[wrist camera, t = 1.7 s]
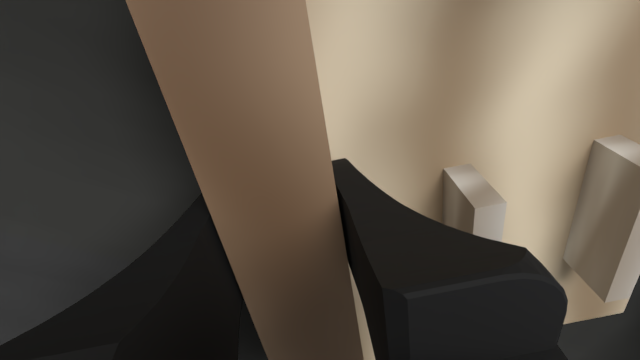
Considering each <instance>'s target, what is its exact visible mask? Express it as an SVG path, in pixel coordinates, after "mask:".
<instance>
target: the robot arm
mask: <svg viewBox="0 0 640 360" xmlns="http://www.w3.org/2000/svg"><path fill="white" fill-rule="evenodd" d="M332 167H333V173H334V179H335V185H336V191H337V198H338V204H339V210H340V216H341V222H342V228H343V235H344V241H345V247H346V253H347V259H348V263H349V266H350V269H351V272H352V275H353V278H354V281H355V284H356V287H357V290H358V292H359V295H360V299H361V302H362V305H363V309H364V313H365V317H366V321H367V326H368V330H369V334H370V338H371V343H372V347H373V351H374V356H375V360H568V359H567V358H566V356H565V355H564V353H563V352H562V351H561V349H560V348H559V347H558V345H557V343H558V339H559V336H560V333H561V329H562V326H563V323H564V320H565V316H566V313H567V305H568V299H567V296H566V293H565V290H564V288H563V287H562V286H561V285H560V284H559V283H558V281H557V280H556V279H555V278H554V277H553V276H552V274H551V273H550V272H549V271H548V270H547V269H546V267H545V266H544V265H543V264H542V263H541V262H540V261H539V260H538V259H537V258H536V257H535V256H534V255H533V254H532V253H531V252H530V251H529V250H528V249H527V248H525V247H521V246H517V245H513V244H508V243H504V242H500V241H496V240H491V239H487V238H483V237H480V236H477V235H474V234H470V233H467V232H464V231H461V230H458V229H455V228H453V227H450V226H447V225H445V224H442V223H440V222H438V221H435V220H433V219H430V218H428V217H426V216H424V215H422V214H420V213H418V212H416V211H414V210H412V209H410V208H408V207H407V206H405V205H403V204H401V203H400V202H398V201H396V200H395V199H393V198H392V197H391V196H389V195H388V194H386V193H385V192H384V191H382V190H381V189H380V188H378V187H377V186H376V185H375V184H373V183H372V182H371V181H370V180H368V179H367V178H366V177H365V176H364V175H363V174H362V173H361V172H360V171H358V170H357V169H356V168H355V167H354V166H353V165H352V164H351V162H350V161H349V160H347V159H346V158H343V159H337V160H332ZM242 300H243V295H242V292H241V290H240V287H239V285H238V282H237V280H236V277H235V275H234V272H233V270H232V267H231V265H230V262H229V260H228V257H227V255H226V252H225V250H224V247H223V245H222V242H221V240H220V237H219V235H218V232H217V230H216V227H215V224H214V222H213V219H212V217H211V214H210V212H209V209H208V207H207V204H206V202H205V199H204V197H203V194H201V195H200V196H199V197H198V198H197V199H196V201H195V202H194V203H193V204H192V205H191V206H190V207H189V208H188V210H187V211H186V212H185V213H184V214H183V215H182V216H181V217H180V218H179V219H178V221H177V222H176V223H175V224H174V225H173V226H172V227H171V228H170V229H169V230H168V231H167V232H166V233H165V234H164V235H163V236H162V237H161V238H160V239H159V240H158V241H157V242H156V243H155V244H153V245H152V246H151V247H150V248H149V249H148V250H147V251H146V252H145V253H143V254H142V255H141V256H140V257H139V258H137V259H136V260H135V261H134V262H133V263H131V264H130V265H129V266H128V267H127V268H125V269H124V270H123V271H121V272H120V273H119V274H117V275H116V276H114V277H113V278H112V279H110V280H109V281H107V282H106V283H105V284H103V285H102V286H101V287H99V288H98V289H96V290H95V291H94V292H92V293H91V294H89V295H88V296H86V297H84V298H83V299H81V300H80V301H78V302H77V303H75V304H74V305H72V306H70V307H69V308H67V309H65V310H64V311H62V312H60V313H59V314H57V315H56V316H54V317H52V318H50V319H49V320H47V321H45V322H43V323H42V324H40V325H38V326H36V327H34V328H32V329H31V330H29V331H27V332H25V333H23V334H21V335H19V336H18V337H16V338H14V339H12V340H10V341H8V342H6V343H4V344H3V345H1V346H0V360H238V338H239V323H240V315H241V307H242Z"/></svg>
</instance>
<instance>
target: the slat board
mask: <svg viewBox="0 0 640 360" xmlns="http://www.w3.org/2000/svg"><path fill="white" fill-rule="evenodd" d="M306 7H307V13H308V19H309V25H310V31H311V37H312V44H313V50H314V56H315V62H316V68H317V74H318V81H319V87H320V93H321V99H322V105H323V111H324V118H325V124H326V130H327V136H328V142H329V148H330V154H331V161H332V160H337V159H343V158H346V159H347V160H349V161H350V162H351V164H352V165H353V166H354V167H355V168H356V169H357V170H358V171H360V172H361V173H362V174H363V175H364V176H365V177H366V178H367V179H368V180H370V181H371V182H372V183H373V184H375V185H376V186H377V187H378V188H380V189H381V190H382V191H384V192H385V193H386V194H388V195H389V196H391V197H392V198H393V199H395V200H396V201H398V202H400V203H401V204H403V205H405V206H407V207H408V208H410V209H412V210H414V211H416V212H418V213H420V214H422V215H424V216H426V217H428V218H430V219H433V220H435V221H438V222H440V223H442V224H445V225H447V226H450V227H453V228H455V229H458V230H461V231H464V232H467V233H470V234H474V235H477V236H480V237H483V238H487V239H491V240H496V241H500V242H504V243H508V244H513V245H517V246H521V247H525V248H527V249H528V250H529V251H530V252H531V253H532V254H533V255H534V256H535V257H536V258H537V259H538V260H539V261H540V262H541V263H542V264H543V265H544V266H545V267H546V269H547V270H548V271H549V272H550V273H551V274H552V276H553V277H554V278H555V279H556V280H557V281H558V283H559V284H560V285H561V286H562V287H563V288H564V290H565V293H566V296H567V299H568V305H567V313H566V316H565V320H564V323H563V324H567V323H572V322H577V321H582V320H587V319H592V318H598V317H603V316H608V315H613V314H618V313H623V312H624V310H625V307H626V305H627V303H628V300H629V298H630V296H631V293H632V291H633V289H634V286H635V284H636V282H637V279H638V277H639V275H640V0H306ZM348 265H349V263H348ZM349 272H350V278H351V284H352V290H353V296H354V302H355V309H356V315H357V321H358V327H359V333H360V339H361V346H362V352H363V358H364V360H375V356H374V351H373V347H372V343H371V338H370V334H369V330H368V326H367V321H366V317H365V313H364V309H363V305H362V302H361V299H360V295H359V292H358V290H357V287H356V284H355V281H354V278H353V275H352V272H351V269H350V266H349Z"/></svg>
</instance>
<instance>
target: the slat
mask: <svg viewBox="0 0 640 360" xmlns="http://www.w3.org/2000/svg"><path fill="white" fill-rule="evenodd" d="M126 3H127V5H128V8H129V10H130V13H131V15H132V18H133V20H134V23H135V25H136V28H137V30H138V33H139V35H140V38H141V41H142V43H143V46H144V48H145V51H146V53H147V56H148V58H149V61H150V63H151V66H152V68H153V71H154V73H155V76H156V78H157V81H158V83H159V86H160V88H161V91H162V93H163V96H164V98H165V101H166V104H167V106H168V109H169V111H170V114H171V116H172V119H173V121H174V124H175V126H176V129H177V131H178V134H179V136H180V139H181V141H182V144H183V146H184V149H185V151H186V154H187V156H188V159H189V161H190V164H191V167H192V169H193V172H194V174H195V177H196V179H197V182H198V184H199V187H200V189H201V192H202V194H203V197H204V199H205V202H206V204H207V207H208V209H209V212H210V214H211V217H212V219H213V222H214V224H215V227H216V230H217V232H218V235H219V237H220V240H221V242H222V245H223V247H224V250H225V252H226V255H227V257H228V260H229V262H230V265H231V267H232V270H233V272H234V275H235V277H236V280H237V282H238V285H239V287H240V290H241V292H242V295H243V298H244V300H245V303H246V305H247V308H248V310H249V313H250V315H251V318H252V320H253V323H254V325H255V328H256V330H257V333H258V335H259V338H260V340H261V343H262V345H263V348H264V350H265V353H266V355H267V358H268V360H364V358H363V352H362V346H361V339H360V333H359V327H358V321H357V315H356V309H355V302H354V296H353V290H352V284H351V278H350V272H349V265H348V259H347V253H346V247H345V241H344V235H343V228H342V222H341V216H340V210H339V204H338V198H337V191H336V185H335V179H334V173H333V167H332V161H331V154H330V148H329V142H328V136H327V130H326V124H325V118H324V111H323V105H322V99H321V93H320V87H319V81H318V74H317V68H316V62H315V56H314V50H313V44H312V37H311V31H310V25H309V19H308V13H307V7H306V0H126Z"/></svg>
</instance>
